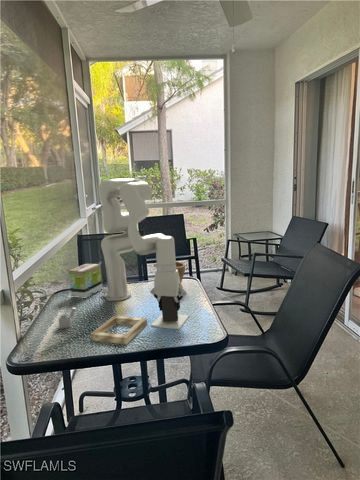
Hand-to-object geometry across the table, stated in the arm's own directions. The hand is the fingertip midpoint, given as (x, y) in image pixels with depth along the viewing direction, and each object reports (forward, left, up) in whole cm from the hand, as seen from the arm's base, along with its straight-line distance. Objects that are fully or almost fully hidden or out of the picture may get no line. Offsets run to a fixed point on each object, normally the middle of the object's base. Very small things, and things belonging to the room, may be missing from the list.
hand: (169, 309), depth 134 cm
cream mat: (0, 0, -5) cm, 5 cm away
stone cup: (-12, +37, -5) cm, 39 cm away
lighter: (-40, -13, -5) cm, 42 cm away
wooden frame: (-16, -13, -5) cm, 21 cm away
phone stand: (0, 0, -3) cm, 3 cm away
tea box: (-57, +24, -5) cm, 62 cm away
